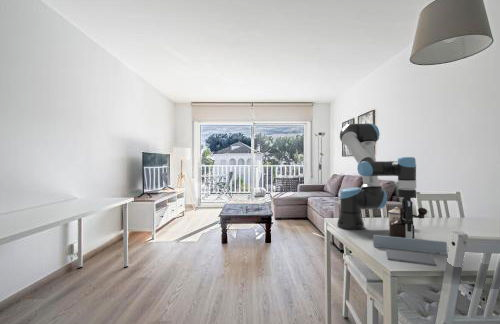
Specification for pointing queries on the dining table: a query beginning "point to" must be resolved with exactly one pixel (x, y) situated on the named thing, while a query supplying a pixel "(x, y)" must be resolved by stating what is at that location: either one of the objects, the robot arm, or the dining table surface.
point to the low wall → (410, 244)
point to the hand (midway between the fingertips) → (407, 235)
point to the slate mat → (410, 257)
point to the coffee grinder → (398, 226)
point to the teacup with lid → (394, 214)
